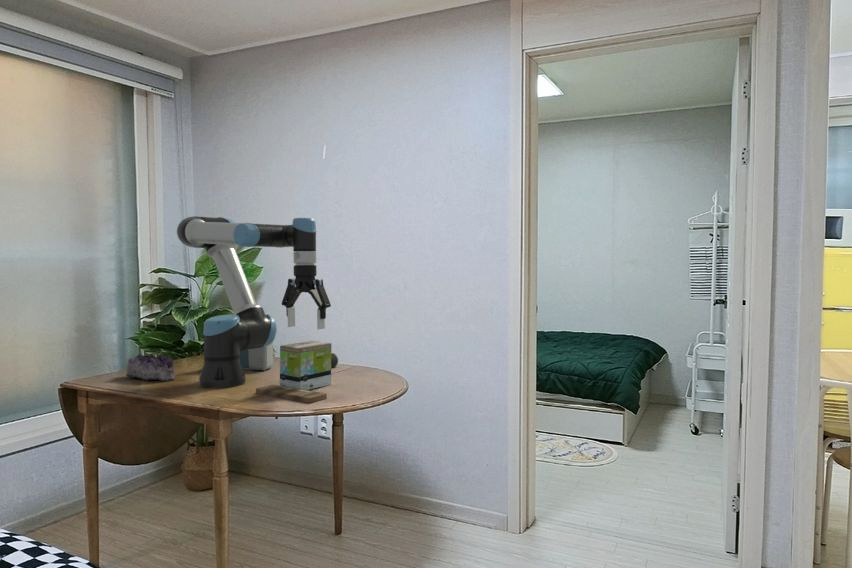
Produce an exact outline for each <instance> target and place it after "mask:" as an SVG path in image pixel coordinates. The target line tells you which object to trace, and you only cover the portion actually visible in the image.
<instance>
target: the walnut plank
mask: <svg viewBox="0 0 852 568" xmlns="http://www.w3.org/2000/svg"><path fill="white" fill-rule="evenodd" d="M258 393H259V394H258ZM255 394H258V395H263V394H264V395H265V396H269V397H274V396H275V398H280V397H281V398H280V399H285V398H286V400H291V401H297V402H303V403H306V404H307V403H308V404H314V403H316V402H319V401H323V400H325V399H327V397H328V396H327V395H328V394H327V393H324V392H319V391H313V390H302V389H296V388H290V387H284V386H280V385H279V384H270V385H264V386H262V387H258V388H255ZM264 395H263V396H264Z"/></svg>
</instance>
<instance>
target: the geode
mask: <svg viewBox="0 0 852 568" xmlns="http://www.w3.org/2000/svg"><path fill="white" fill-rule="evenodd" d="M174 367H175V365H174V359H171V358H170V356H166V355H164V354H163V355H159V356H157V357H156V356H155V355H153V354H144V355H143V354H142V353H139V354H137V356H134V357H130V358H129V359H128V360H127V365H126V369H125V370H126V371H125V372H126V377H128V378H137V379H140V380H143V381H156V380H157V381H160V382H161V383H162V382H163V383H165V382H174V381H175V378H176V375H175V374H176V371H175V368H174Z"/></svg>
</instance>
